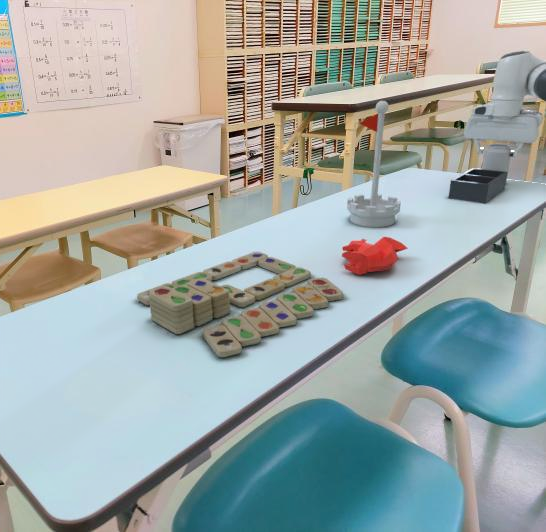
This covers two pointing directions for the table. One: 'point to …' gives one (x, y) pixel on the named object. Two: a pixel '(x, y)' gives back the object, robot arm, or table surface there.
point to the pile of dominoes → (238, 302)
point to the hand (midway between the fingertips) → (496, 155)
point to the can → (496, 157)
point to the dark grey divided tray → (478, 185)
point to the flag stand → (374, 184)
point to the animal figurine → (372, 255)
